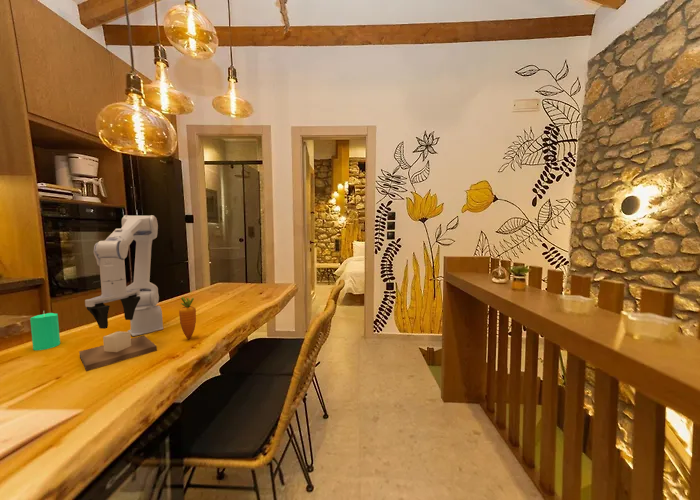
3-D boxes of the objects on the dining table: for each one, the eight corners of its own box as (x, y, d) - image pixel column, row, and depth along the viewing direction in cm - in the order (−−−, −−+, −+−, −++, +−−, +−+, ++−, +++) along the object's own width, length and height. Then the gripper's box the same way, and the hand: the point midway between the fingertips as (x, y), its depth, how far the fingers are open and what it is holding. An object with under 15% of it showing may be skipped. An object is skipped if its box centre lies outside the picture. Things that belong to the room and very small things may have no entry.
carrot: (200, 337, 95) (198, 295, 94) (188, 342, 91) (185, 298, 90) (190, 335, 97) (187, 294, 96) (177, 340, 92) (174, 297, 91)
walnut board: (144, 339, 94) (144, 335, 94) (156, 350, 85) (156, 345, 85) (79, 356, 82) (79, 351, 82) (86, 371, 73) (85, 365, 73)
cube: (119, 345, 86) (118, 331, 86) (131, 345, 85) (130, 332, 85) (104, 351, 81) (103, 336, 81) (116, 352, 81) (115, 337, 80)
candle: (41, 351, 86) (38, 314, 85) (27, 349, 87) (24, 313, 86) (65, 343, 92) (62, 308, 91) (51, 342, 93) (48, 307, 92)
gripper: (126, 275, 90) (129, 315, 90) (74, 284, 75) (78, 331, 76) (144, 276, 88) (146, 316, 89) (95, 284, 74) (99, 333, 75)
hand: (116, 323), depth 83 cm, fingers open, 7 cm apart
